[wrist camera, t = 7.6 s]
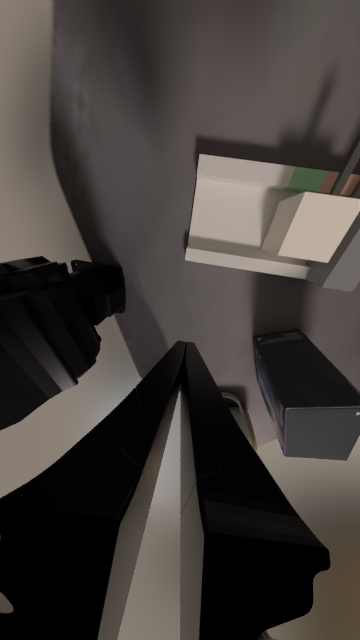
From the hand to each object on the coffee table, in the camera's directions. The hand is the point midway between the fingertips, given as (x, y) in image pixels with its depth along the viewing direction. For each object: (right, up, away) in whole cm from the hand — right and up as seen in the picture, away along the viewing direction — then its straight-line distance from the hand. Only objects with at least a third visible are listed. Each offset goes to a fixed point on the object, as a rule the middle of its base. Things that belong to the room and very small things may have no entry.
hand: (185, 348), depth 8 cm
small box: (+15, -5, +16) cm, 22 cm away
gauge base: (+8, +11, +7) cm, 15 cm away
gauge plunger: (+11, +11, +6) cm, 17 cm away
